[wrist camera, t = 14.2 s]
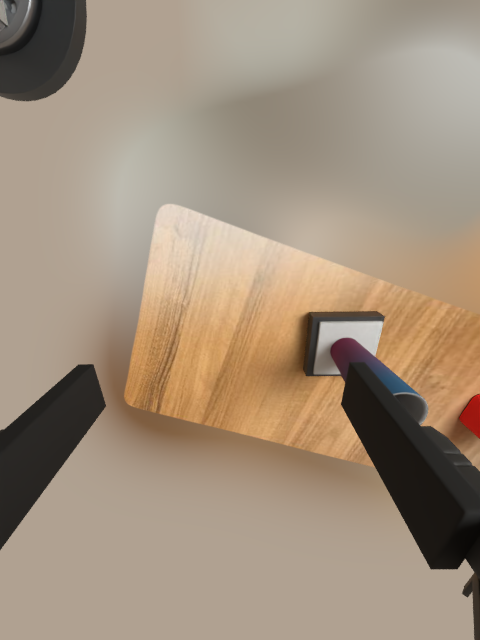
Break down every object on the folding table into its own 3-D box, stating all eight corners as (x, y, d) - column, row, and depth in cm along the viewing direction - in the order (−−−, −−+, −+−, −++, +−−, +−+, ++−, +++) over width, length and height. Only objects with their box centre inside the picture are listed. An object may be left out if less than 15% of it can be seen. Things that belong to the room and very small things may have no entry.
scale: (309, 311, 41) (314, 318, 38) (377, 311, 41) (387, 317, 38) (303, 368, 46) (306, 378, 43) (364, 368, 46) (372, 377, 43)
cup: (345, 372, 43) (394, 445, 29) (316, 354, 41) (355, 421, 27) (372, 345, 40) (441, 410, 27) (344, 325, 39) (400, 382, 25)
